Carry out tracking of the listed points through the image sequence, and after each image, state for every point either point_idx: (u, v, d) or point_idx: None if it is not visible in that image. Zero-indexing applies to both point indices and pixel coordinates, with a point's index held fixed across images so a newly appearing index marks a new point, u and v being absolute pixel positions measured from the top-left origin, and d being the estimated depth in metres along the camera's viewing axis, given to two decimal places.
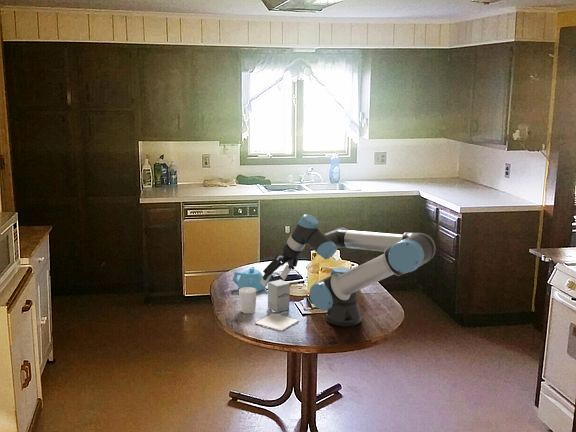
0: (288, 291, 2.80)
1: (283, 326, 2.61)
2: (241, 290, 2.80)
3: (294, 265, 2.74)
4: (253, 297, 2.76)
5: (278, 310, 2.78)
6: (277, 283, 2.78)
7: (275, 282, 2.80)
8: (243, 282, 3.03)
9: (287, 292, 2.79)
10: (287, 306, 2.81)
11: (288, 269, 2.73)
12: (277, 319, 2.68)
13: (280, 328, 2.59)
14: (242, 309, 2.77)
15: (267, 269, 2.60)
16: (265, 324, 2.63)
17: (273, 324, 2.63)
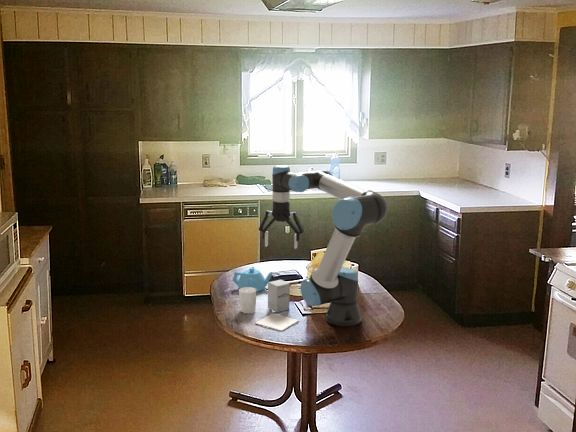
0: (288, 291, 2.80)
1: (283, 326, 2.61)
2: (241, 290, 2.80)
3: (299, 231, 2.73)
4: (253, 297, 2.76)
5: (278, 310, 2.78)
6: (277, 283, 2.78)
7: (275, 282, 2.80)
8: (243, 282, 3.03)
9: (287, 292, 2.79)
10: (287, 306, 2.81)
11: None
12: (277, 319, 2.68)
13: (280, 328, 2.59)
14: (242, 309, 2.77)
15: None
16: (265, 324, 2.63)
17: (273, 324, 2.63)
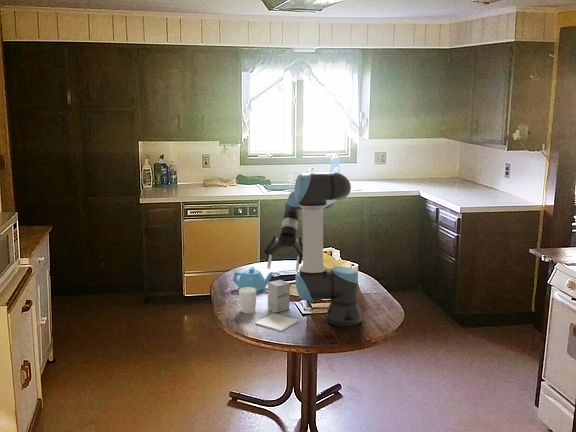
0: (288, 291, 2.80)
1: (283, 326, 2.61)
2: (241, 290, 2.80)
3: (303, 253, 2.90)
4: (253, 297, 2.76)
5: (278, 310, 2.78)
6: (277, 283, 2.78)
7: (275, 282, 2.80)
8: (243, 282, 3.03)
9: (287, 292, 2.79)
10: (287, 306, 2.81)
11: None
12: (277, 319, 2.68)
13: (280, 328, 2.59)
14: (242, 309, 2.77)
15: None
16: (265, 324, 2.63)
17: (273, 324, 2.63)
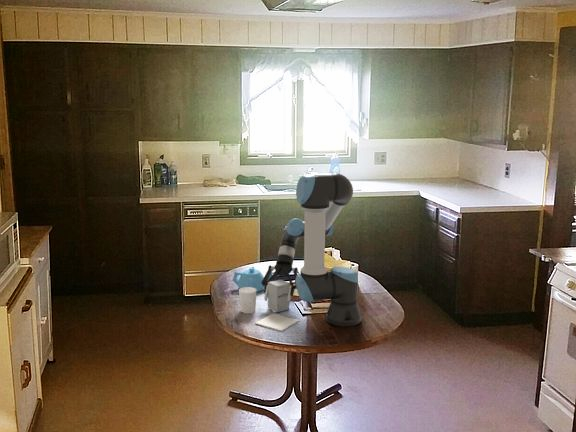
0: (288, 291, 2.80)
1: (283, 326, 2.61)
2: (241, 290, 2.80)
3: (295, 285, 2.80)
4: (253, 297, 2.76)
5: (278, 310, 2.78)
6: (277, 283, 2.78)
7: (275, 282, 2.80)
8: (243, 282, 3.03)
9: (287, 292, 2.79)
10: (287, 306, 2.81)
11: None
12: (277, 319, 2.68)
13: (280, 328, 2.59)
14: (242, 309, 2.77)
15: None
16: (265, 324, 2.63)
17: (273, 324, 2.63)
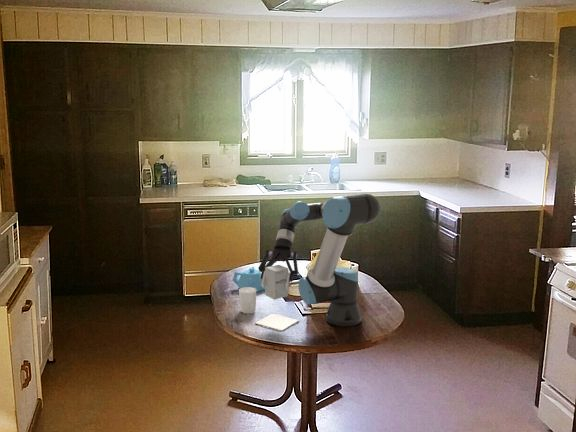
0: None
1: (283, 326, 2.61)
2: (241, 290, 2.80)
3: (294, 270, 2.62)
4: (253, 297, 2.76)
5: (276, 297, 2.60)
6: (275, 268, 2.60)
7: (273, 267, 2.62)
8: (243, 282, 3.03)
9: (286, 278, 2.61)
10: (286, 293, 2.63)
11: None
12: (277, 319, 2.68)
13: (280, 328, 2.59)
14: (242, 309, 2.77)
15: None
16: (265, 324, 2.63)
17: (273, 324, 2.63)
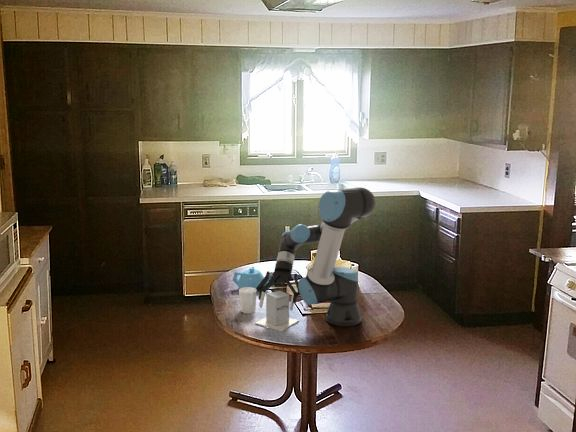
0: (288, 303, 2.63)
1: (283, 326, 2.61)
2: (241, 290, 2.80)
3: (298, 291, 2.64)
4: (253, 297, 2.76)
5: (277, 323, 2.62)
6: (276, 295, 2.62)
7: (274, 293, 2.64)
8: (243, 282, 3.03)
9: (287, 304, 2.63)
10: (287, 319, 2.65)
11: None
12: None
13: (280, 328, 2.59)
14: (242, 309, 2.77)
15: None
16: (265, 324, 2.63)
17: None
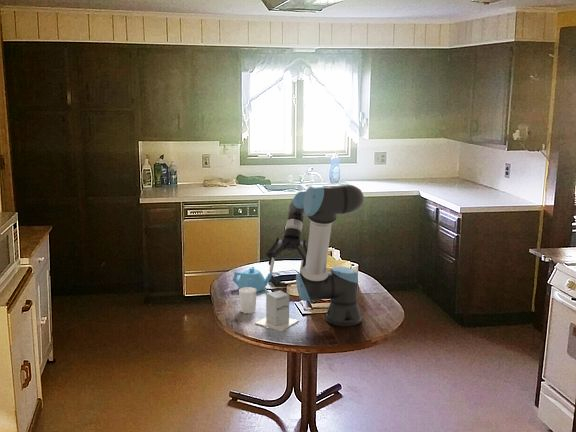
0: (288, 303, 2.63)
1: (283, 326, 2.61)
2: (241, 290, 2.80)
3: None
4: (253, 297, 2.76)
5: (277, 323, 2.62)
6: (276, 295, 2.62)
7: (274, 293, 2.64)
8: (243, 282, 3.03)
9: (287, 304, 2.63)
10: (287, 319, 2.65)
11: None
12: None
13: (280, 328, 2.59)
14: (242, 309, 2.77)
15: None
16: (265, 324, 2.63)
17: None
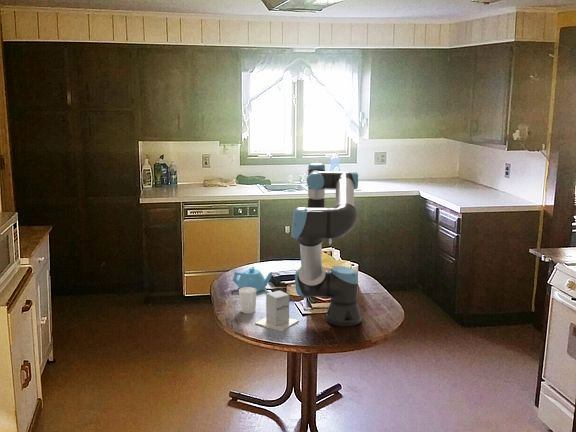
0: (288, 303, 2.63)
1: (283, 326, 2.61)
2: (241, 290, 2.80)
3: None
4: (253, 297, 2.76)
5: (277, 323, 2.62)
6: (276, 295, 2.62)
7: (274, 293, 2.64)
8: (244, 282, 3.03)
9: (287, 304, 2.63)
10: (287, 319, 2.65)
11: None
12: None
13: (280, 328, 2.59)
14: (242, 309, 2.77)
15: None
16: (265, 324, 2.63)
17: None
